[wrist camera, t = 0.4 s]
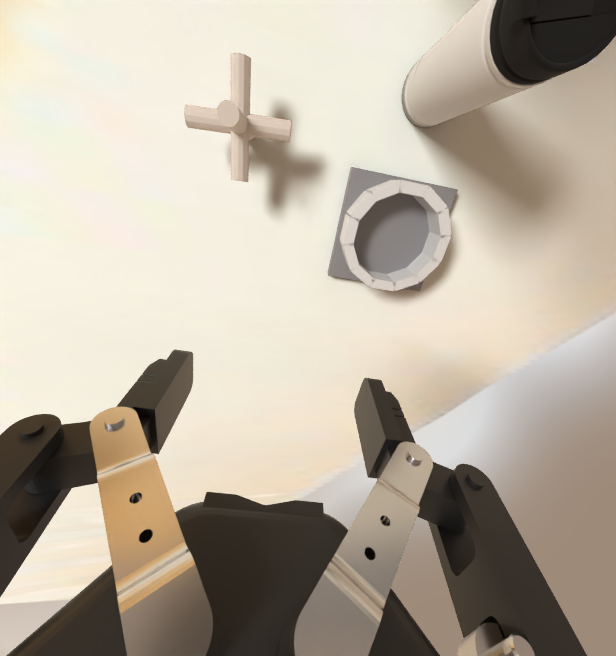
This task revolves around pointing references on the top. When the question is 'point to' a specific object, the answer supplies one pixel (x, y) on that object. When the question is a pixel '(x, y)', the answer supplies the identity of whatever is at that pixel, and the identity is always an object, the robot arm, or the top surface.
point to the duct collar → (391, 230)
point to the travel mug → (504, 54)
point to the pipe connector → (238, 119)
